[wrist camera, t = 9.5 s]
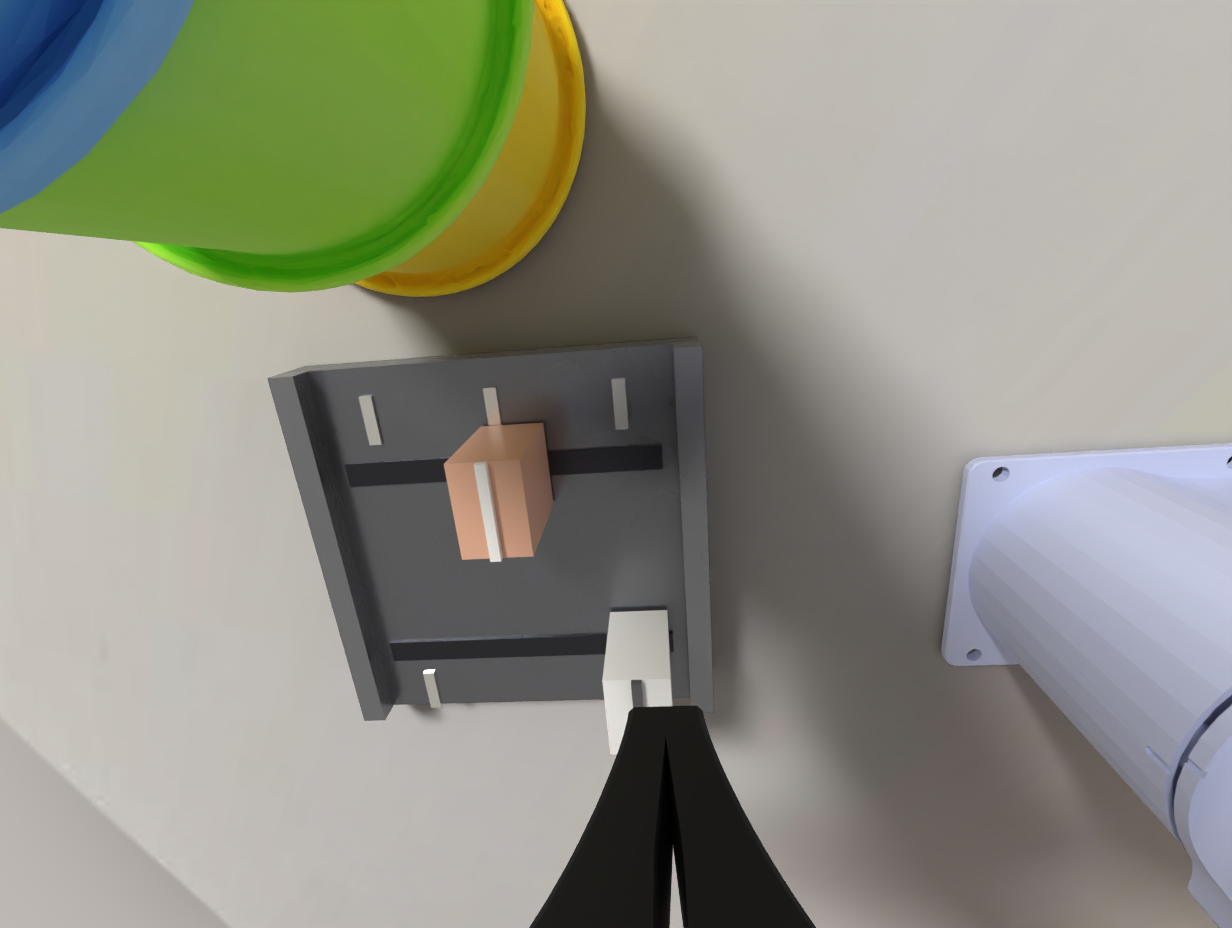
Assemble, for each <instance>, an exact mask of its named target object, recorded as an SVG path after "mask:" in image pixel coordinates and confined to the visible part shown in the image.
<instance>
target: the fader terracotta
mask: <svg viewBox="0 0 1232 928" xmlns="http://www.w3.org/2000/svg"><path fill="white" fill-rule="evenodd" d="M444 468H445V474H446V479H447V484H448V489H449V495H450V500H451V505H452V510H453V515H454V521H455V526H456V531H457V536H458V542H459V547H460V552H461V557H462V560H468V559H490V562H501V561H502V559H503V558H511V557H533V556H534V554H535V551H536V549H537V546H538V544H539V541H540V539H541V536H542V533H543V531H544V528H545V526H546V523H547V520H548V518H549V515H550V513H551V510H552V508H553V505H554V504H553V496H552V488H551V480H550V472H549V465H548V457H547V449H546V441H545V433H544V426H543V423H529V424H513V425H498V426H483V427H480V428H479V429H478V430H477V431H476V432H475V433H474V434H473V435H472V436H471V437H470V438H469V439H468V440H467V441H466V442H465V443H464V444H463V445H462V446H461V447H460V448H459V449H458V450H457V451H456V452H455V453H454V454H453V455H452V456H451V457H450V458H449V459H448V460H447V461H446V462H445V463H444Z"/></svg>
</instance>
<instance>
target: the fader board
mask: <svg viewBox="0 0 1232 928" xmlns="http://www.w3.org/2000/svg"><path fill="white" fill-rule="evenodd" d="M267 379H268V382H269V386H270V389H271V393H272V396H273V400H274V403H275V407H276V410H277V414H278V417H279V421H280V425H281V428H282V432H283V435H284V439H285V442H286V446H287V449H288V453H289V456H290V460H291V463H292V467H293V470H294V474H295V477H296V481H297V484H298V488H299V491H300V495H301V499H302V502H303V506H304V509H305V513H306V516H307V520H308V523H309V527H310V530H311V534H312V537H313V541H314V544H315V548H316V551H317V555H318V558H319V562H320V565H321V569H322V573H323V576H324V580H325V583H326V587H327V590H328V594H329V597H330V601H331V604H332V608H333V611H334V615H335V618H336V622H337V625H338V629H339V632H340V636H341V639H342V643H343V647H344V650H345V654H346V657H347V661H348V664H349V668H350V671H351V675H352V678H353V682H354V685H355V689H356V692H357V696H358V699H359V703H360V706H361V710H362V713H363V717H364V721H370V720H385V719H386V718H387V716H388V714H389V712H390V711H391V709H392V707H393V705H399V704H430V705H431V708H436V707H442V703H476V702H514V701H552V700H591V699H604V692H603V682H602V679H603V670H604V661H605V653H606V644H607V635H608V626H609V617H610V612H628V611H654V610H667V614H668V630H669V646H670V663H671V680H672V697H690V704H691V706H698V707H699V708H700V709H701V710H703V713H704V712H714V703H713V672H712V641H711V610H710V579H709V549H708V518H707V487H706V456H705V425H704V395H703V364H702V346H701V344H700V342H699V340H698V338H697V337H689V338H675V339H662V340H649V341H635V342H622V343H609V344H595V345H582V346H569V347H556V348H542V349H529V350H516V351H502V352H489V353H476V354H462V355H449V356H436V357H422V358H409V359H396V360H382V361H369V362H356V363H343V364H329V365H316V366H304V367H301V368H298V369H295V370H292V371H289V372H285V373H282V374H279V375H276V376H273V377H270V378H267ZM529 423H543V426H544V433H545V441H546V449H547V457H548V465H549V472H550V480H551V488H552V496H553V504H554V505H553V508H552V510H551V513H550V515H549V518H548V520H547V523H546V526H545V528H544V531H543V533H542V536H541V539H540V541H539V544H538V546H537V549H536V551H535V554H534V556H533V557H511V558H503V559H502V561H501V562H490V559H468V560H462V557H461V552H460V547H459V542H458V536H457V531H456V526H455V521H454V515H453V510H452V505H451V500H450V495H449V489H448V484H447V479H446V474H445V468H444V463H445V462H446V461H447V460H448V459H449V458H450V457H451V456H452V455H453V454H454V453H455V452H456V451H457V450H458V449H459V448H460V447H461V446H462V445H463V444H464V443H465V442H466V441H467V440H468V439H469V438H470V437H471V436H472V435H473V434H474V433H475V432H476V431H477V430H478V429H479V428H480V427H483V426H498V425H513V424H529Z"/></svg>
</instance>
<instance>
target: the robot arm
mask: <svg viewBox="0 0 1232 928" xmlns="http://www.w3.org/2000/svg"><path fill="white" fill-rule="evenodd" d="M1231 456H1232V443H1222V444H1204V445H1186V446H1169V447H1151V448H1133V449H1116V450H1098V451H1080V452H1063V453H1045V454H1027V455H1010V456H992V457H979V458H975V459H973V460H971V461H970V462H969V463H968V464H967V465H966V466H965V468H964V471H963V477H962V485H961V493H960V501H959V509H958V517H957V525H956V533H955V541H954V549H953V558H952V566H951V574H950V582H949V590H948V598H947V606H946V614H945V622H944V630H943V638H942V646H941V654H942V656H943V657H944V658H945V660H946V661H947V662H948V663H949V664H950V665H953V666H981V665H1015V664H1020V666H1021V667H1022V668H1023V669H1024V670H1025V671H1026V672H1027V673H1028V675H1029V676H1030V677H1031V678H1032V679H1033V680H1034V681H1035V682H1036V683H1037V685H1038V686H1039V687H1040V688H1041V689H1042V690H1043V691H1044V692H1045V693H1046V695H1047V696H1048V697H1049V698H1050V699H1051V700H1052V701H1053V702H1054V703H1055V705H1056V706H1057V707H1058V708H1059V709H1060V710H1061V711H1062V712H1063V713H1064V715H1065V716H1066V717H1067V718H1068V719H1069V720H1070V721H1071V722H1072V723H1073V725H1074V726H1075V727H1076V728H1077V729H1078V730H1079V731H1080V732H1081V733H1082V735H1083V736H1084V737H1085V738H1086V739H1087V740H1088V741H1089V742H1090V743H1091V745H1092V746H1093V747H1094V748H1095V749H1096V750H1097V751H1098V752H1099V754H1100V755H1101V756H1102V757H1103V758H1104V759H1105V760H1106V761H1107V762H1108V764H1109V765H1110V766H1111V767H1112V768H1113V769H1114V770H1115V771H1116V772H1117V774H1118V775H1119V776H1120V777H1121V778H1122V779H1123V780H1124V781H1125V782H1126V784H1127V785H1128V786H1129V787H1130V788H1131V789H1132V790H1133V791H1134V792H1135V794H1136V795H1137V796H1138V797H1139V798H1140V799H1141V800H1142V801H1143V802H1144V804H1145V805H1146V806H1147V807H1148V808H1149V809H1150V810H1151V811H1152V812H1153V814H1154V815H1155V816H1156V817H1157V818H1158V819H1159V820H1160V821H1161V822H1162V824H1163V825H1164V826H1165V827H1166V828H1167V829H1168V830H1169V831H1170V833H1171V834H1172V835H1173V836H1174V837H1175V838H1176V839H1177V840H1178V841H1179V843H1180V844H1181V845H1182V846H1183V847H1184V848H1185V849H1186V850H1187V852H1188V854H1189V856H1190V858H1191V861H1192V867H1193V869H1192V876H1191V878H1190V881H1189V883H1188V886H1187V891H1188V892H1189V893H1190V894H1191V896H1192V897H1193V898H1194V899H1195V900H1196V901H1197V903H1198V904H1199V905H1200V906H1201V907H1202V909H1203V910H1204V911H1205V912H1206V913H1207V915H1208V916H1209V917H1210V918H1211V919H1212V920H1213V922H1214V923H1215V924H1216V925H1217V926H1218V928H1232V460H1231V462H1229V463H1228V464H1227V461H1228V459H1229V458H1230V457H1231ZM999 467H1002V468H1003V470H1002V472H1001V474H1000V475H999V476H997V477H994V478H993V477H992V474H993V472H994V470H996V469H997V468H999ZM973 649H976V650H975V651H974V652H973V653H971V654H967V653H968V652H969V651H970V650H973ZM673 848H674V856H675V864H676V872H677V880H678V888H679V896H680V904H681V912H682V919H683V927H684V928H816V927H815V925H814V924H813V922H812V921H811V920H810V918H809V917H808V915H807V914H806V912H805V911H804V909H803V908H802V907H801V905H800V904H799V902H798V901H797V899H796V898H795V896H794V895H793V893H792V892H791V890H790V888H789V887H788V885H787V884H786V882H785V881H784V879H783V878H782V876H781V875H780V873H779V871H778V870H777V868H776V867H775V865H774V863H773V862H772V860H771V858H770V857H769V855H768V853H767V852H766V850H765V848H764V847H763V845H762V843H761V841H760V839H759V838H758V836H757V834H756V832H755V831H754V829H753V827H752V825H751V824H750V822H749V820H748V818H747V816H746V814H745V812H744V811H743V809H742V807H741V805H740V803H739V801H738V799H737V797H736V795H735V793H734V791H733V789H732V787H731V785H730V783H729V781H728V779H727V776H726V774H725V772H724V770H723V768H722V765H721V763H720V761H719V758H718V756H717V753H716V751H715V749H714V746H713V744H712V741H711V738H710V735H709V732H708V730H707V726H706V723H705V719H704V715H703V710H701V709H700V708H699V707H698V706H659V707H634V708H633V709H631V710H630V711H629V713H628V718H627V723H626V727H625V731H624V734H623V738H622V741H621V744H620V747H619V750H618V753H617V756H616V759H615V761H614V764H613V767H612V769H611V772H610V774H609V777H608V779H607V782H606V784H605V787H604V789H603V791H602V794H601V796H600V799H599V801H598V803H597V806H596V808H595V810H594V812H593V814H592V816H591V818H590V820H589V822H588V824H587V826H586V829H585V831H584V833H583V835H582V837H581V839H580V841H579V843H578V845H577V847H576V849H575V851H574V853H573V855H572V856H571V858H570V860H569V862H568V864H567V866H566V868H565V869H564V871H563V873H562V875H561V877H560V878H559V880H558V882H557V883H556V885H555V887H554V889H553V890H552V892H551V894H550V896H549V897H548V899H547V901H546V902H545V904H544V905H543V907H542V909H541V910H540V912H539V913H538V915H537V916H536V918H535V920H534V921H533V923H532V924H531V926H530V927H529V928H669V925H670V902H671V878H672V854H673Z"/></svg>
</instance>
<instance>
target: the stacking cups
mask: <svg viewBox="0 0 1232 928" xmlns="http://www.w3.org/2000/svg"><path fill="white" fill-rule="evenodd" d="M585 115H586V97H585V84H584V72H583V65H582V60H581V55H580V51H579V47H578V43H577V39H576V35H575V32H574V29H573V26H572V23H571V20H570V17H569V14H568V12H567V9H566V7H565V4H564V2H563V0H0V228H7V229H17V230H27V231H37V232H47V233H57V234H67V235H77V236H87V237H97V238H107V239H117V240H127V241H132V242H134V243H135V244H137V245H139V246H140V247H142V248H144V249H145V250H147V251H149V252H150V253H152V254H153V255H155V256H157V257H159V258H161V259H163V260H165V261H167V262H169V263H171V264H173V265H175V266H177V267H179V268H181V269H183V270H185V271H187V272H189V273H191V274H194V275H198V276H201V277H204V278H207V279H210V280H213V281H216V282H220V283H223V284H227V285H232V286H237V287H243V288H248V289H253V290H260V291H276V292H306V291H317V290H324V289H329V288H334V287H339V286H344V285H349V284H352V283H355V284H357V285H360V286H362V287H364V288H367V289H370V290H374V291H378V292H382V293H386V294H392V295H400V296H409V297H431V296H441V295H447V294H453V293H457V292H461V291H465V290H468V289H472V288H474V287H476V286H479V285H481V284H484V283H486V282H488V281H490V280H492V279H494V278H496V277H497V276H499V275H501V274H502V273H504V272H506V271H507V270H508V269H510V268H511V267H512V266H514V265H515V264H516V263H518V262H519V261H520V260H522V259H523V258H524V257H525V256H526V255H527V254H528V253H529V252H530V251H531V250H532V249H533V248H534V247H535V246H536V245H537V244H538V243H539V241H540V240H541V239H542V237H543V236H544V235H545V233H546V232H547V231H548V230H549V228H550V227H551V226H552V224H553V223H554V221H555V219H556V218H557V216H558V214H559V212H560V210H561V208H562V206H563V204H564V203H565V201H566V199H567V196H568V194H569V191H570V189H571V186H572V183H573V181H574V178H575V175H576V171H577V168H578V164H579V161H580V157H581V152H582V146H583V140H584V135H585Z"/></svg>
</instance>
